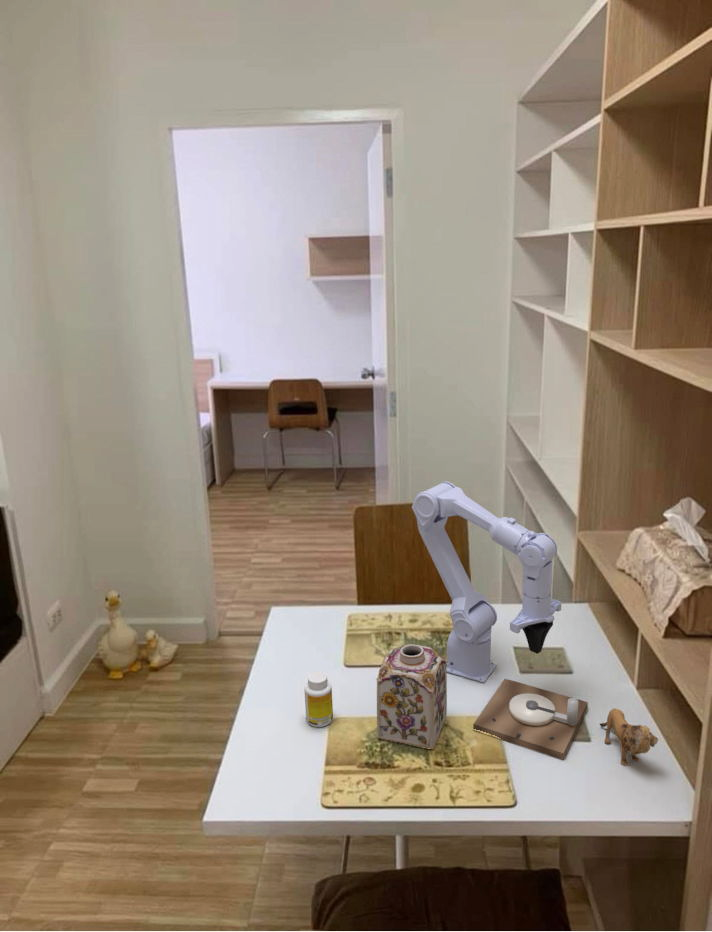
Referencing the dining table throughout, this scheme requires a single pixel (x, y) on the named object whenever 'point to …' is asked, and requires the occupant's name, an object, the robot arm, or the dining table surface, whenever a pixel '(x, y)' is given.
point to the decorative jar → (412, 695)
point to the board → (537, 738)
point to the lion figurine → (628, 736)
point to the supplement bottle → (318, 700)
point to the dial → (541, 710)
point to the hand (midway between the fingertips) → (535, 650)
